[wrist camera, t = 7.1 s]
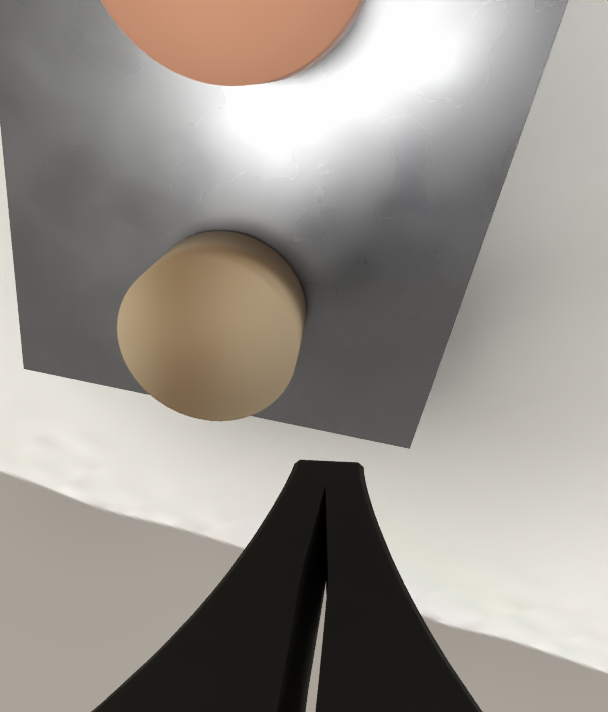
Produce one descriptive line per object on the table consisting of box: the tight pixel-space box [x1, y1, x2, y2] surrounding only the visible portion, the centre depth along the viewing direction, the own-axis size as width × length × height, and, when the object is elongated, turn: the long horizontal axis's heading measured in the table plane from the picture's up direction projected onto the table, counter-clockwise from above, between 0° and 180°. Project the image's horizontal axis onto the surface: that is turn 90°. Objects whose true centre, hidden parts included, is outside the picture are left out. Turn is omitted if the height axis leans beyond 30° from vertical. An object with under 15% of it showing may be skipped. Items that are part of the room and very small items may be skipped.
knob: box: [117, 231, 306, 421], centre depth 15 cm, size 5×5×2 cm
